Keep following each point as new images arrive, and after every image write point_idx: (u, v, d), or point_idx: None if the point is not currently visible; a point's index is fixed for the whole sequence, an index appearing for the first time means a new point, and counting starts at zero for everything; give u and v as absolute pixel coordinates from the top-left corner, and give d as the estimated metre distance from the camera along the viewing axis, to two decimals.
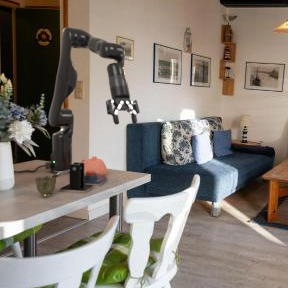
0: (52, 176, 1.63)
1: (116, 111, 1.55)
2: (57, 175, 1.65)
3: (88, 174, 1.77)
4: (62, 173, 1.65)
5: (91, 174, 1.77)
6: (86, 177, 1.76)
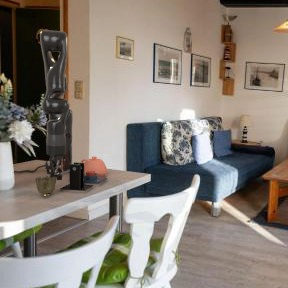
0: None
1: (55, 171, 1.62)
2: (57, 175, 1.65)
3: (88, 174, 1.77)
4: (62, 173, 1.65)
5: (91, 174, 1.77)
6: (86, 177, 1.76)
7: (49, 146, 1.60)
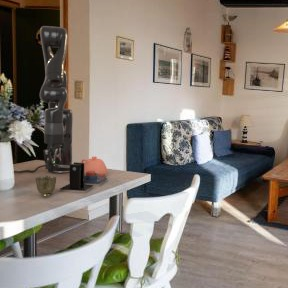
0: None
1: (53, 160, 1.61)
2: (55, 165, 1.64)
3: (88, 174, 1.77)
4: (60, 166, 1.64)
5: (91, 174, 1.77)
6: (86, 177, 1.76)
7: (47, 135, 1.59)
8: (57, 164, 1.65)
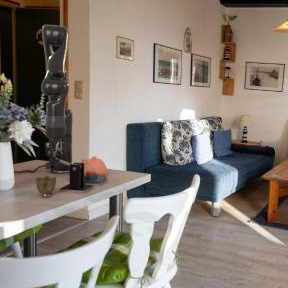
0: None
1: (54, 153, 1.61)
2: (56, 160, 1.64)
3: (88, 174, 1.77)
4: (61, 162, 1.64)
5: (91, 174, 1.77)
6: (86, 177, 1.76)
7: (48, 128, 1.59)
8: (58, 159, 1.65)
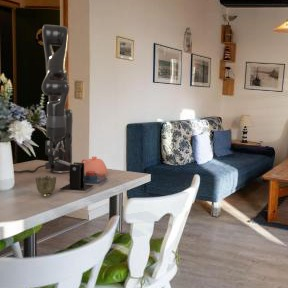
0: None
1: (54, 152, 1.60)
2: (56, 160, 1.64)
3: (88, 174, 1.77)
4: (61, 162, 1.64)
5: (91, 174, 1.77)
6: (86, 177, 1.76)
7: (49, 128, 1.59)
8: (58, 159, 1.65)
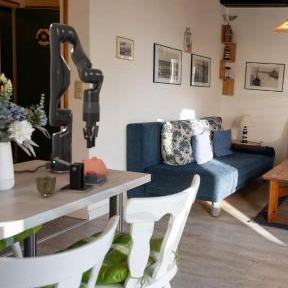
0: (52, 159, 1.62)
1: (91, 137, 1.74)
2: (56, 160, 1.64)
3: (88, 174, 1.77)
4: (61, 162, 1.64)
5: (91, 174, 1.77)
6: (86, 177, 1.76)
7: (85, 113, 1.71)
8: (58, 159, 1.65)
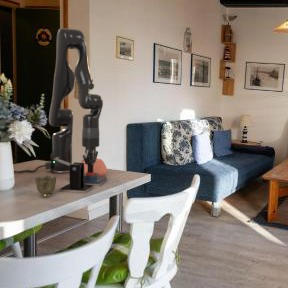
0: (52, 159, 1.62)
1: (92, 162, 1.77)
2: (56, 160, 1.64)
3: (88, 174, 1.77)
4: (61, 162, 1.64)
5: (91, 174, 1.77)
6: (86, 177, 1.76)
7: (85, 138, 1.73)
8: (58, 159, 1.65)
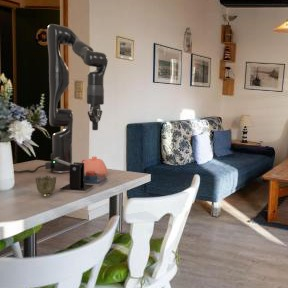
0: (52, 159, 1.62)
1: (96, 119, 1.79)
2: (56, 160, 1.64)
3: (88, 174, 1.77)
4: (61, 162, 1.64)
5: (91, 174, 1.77)
6: (86, 177, 1.76)
7: (90, 95, 1.75)
8: (58, 159, 1.65)
